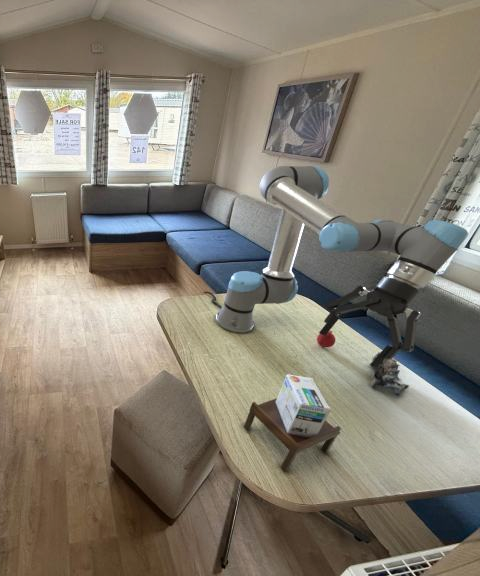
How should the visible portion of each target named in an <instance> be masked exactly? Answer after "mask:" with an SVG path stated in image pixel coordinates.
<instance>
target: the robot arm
mask: <svg viewBox="0 0 480 576" xmlns="http://www.w3.org/2000/svg"><path fill="white" fill-rule="evenodd" d="M329 185H330V179H329V176H328V174H327V172H326V170H325V169H324V168H322V167H319V166H311V165H290V166H289V165H280V166H276V167H273V168H271V169H270V170H268V171H267V172H265V174H264V175H263V176H262V178H261V179H260V183H259V192H260V196H262V198H263V199H264V200H265V201H266V202H267V203H269V204H271V205H274V206H276V205H278V206H279V207H280V208H281V211H280V215H279V220H278V223H277V228H276V231H275V235H274V240H273V245H272V247H271V251H270V255H269V259H268V264H267V266H266V267H264V268H263V269H262V270H261V274H260V273H258V272H255V271H250V270H241V271H237V272H234V273H233V274H232V275H231V277H230V280H229V282H228V286H227V290H226V295H225V298H224V302H223V305H221V304H220V303H218V302H217V301H216V300H217V296H215V294H213V293H212V292H210V291H209V290H208V291H203V294H208V295H210V296H211V297H212V298H213V299H211V302H212V303H213V304H214V305H216V306H218V307H219V308H220V309H218V312H217V314H216V316H215V321H216V324H218V326H219V327H220V328H222V329H224V330H226V331H229V332H231V333H236V334H246V333H249V332H251V331H252V330H253V327H254V325H255V324H254V313H253V312H254V308H255V305H266V304H267V305H269V304H275V305H278V304H285V303H288V302H291V301H293V299H295V297H296V295H297V293H298V290H299V286H298V285H299V284H298V281H297V279H296V277H295V274H294V272H293V266H294V262H295V259H296V256H297V252H298V248H299V246H300V241H301V238H302V234H303V231H304V227H305V226H306V227H307V228H309V229H310V230H311V231H313V232H314V233H316V234H317V235H318V238H319V240H318V241H319V243H320V246H321V247H322V249H324V250H325V251H328V252H335V253H350V252H387V253H392V254H395V255H398V256H399V257H398V258H397V259H396V261H395V262H394V264H393V265H392V266H391V267H390V269H389V270H388V271H386V274H387V275H385V276H383V277H382V278H380V280H379V282H378V283H377V284H376V285H375V287H374V288H373V289H372V290H368V289H367V288H366V287H365V286H363V285H358V286H356V288H354V290H352V291H351V292H348V293H346V294H345V295H343V296H340V297H339V298H337V299H335V300H333V301H331V302H329V303H327V304H326V305H325V307H326V308H327V309H328V310H329V313H328V315H327V316H326V317H325V318H324V319H323V322H324V323H325V324H324V326H323V327H322V328H321V329H320V330H319V332H318V334H321V335H325V336H326V334H327V333H328V332H329V331H330V330H331V329H332V328H333V327H334V326H335V324H336V323H337V322H338V321H339V320H340V319H341V316H339V315H342V314H346V313H352V312H354V311H359V310H362V309H368V310H370V311H371V312H374V313H376V314H378V315H379V316H382V317H384V318H386V320H387V323H388V328H389V333H390V339H391V343H392V345H391V344H386V346H385V347H384V348H383V349H382V350H381V352H380V354H379V355H378V356H377V357H376V358H375V359H374V360H373V359H372V360H373V362H372V361H371V363H370V364H369V366H370V367H371V366H372V367H376V368H377V367H378V366H379V364H380V363H381V362H382V361H383V360H384V359H385V358H386V359H389V360H390V359H392V358H393V359H394V358H395V356H396V355H397V354H398V352H399V351H404V352H409V353H411V352H413V351H414V348H415V340H416V332H417V325H418V322H419V320H420V318H421V317H422V313H421V312H420V311H418V310H413V309H411V308H409V305H410V304H411V302H413V300H414V299H415V298H416V297H417V296H418V295H419V294H420V289H424V288H425V287H426V286H427V284H428V283H429V282H430V281H431V280H432V278H433V277H434V276H435V275H436V274H437V273H438V272H439V270H440V269H441V268H442V266H443V265H445V263H447V261H448V260H449V259H450V258H451V257H452V256H453V255H454V254H455V253H456V252H457V251H458V250H459V248H460V246H461V245H463V243H464V242H465V240H466V239H467V238H468V235H469V231H468V230H467V229H466V228H465V227H462V226H460V225H458V224H455V223H452V222H448V221H444V220H441V219H440V220H439V219H433V220H432V219H431V220H430V221H428V222H427V223H426V224H425V225H423V227H422V226H421V227H420V226H415V225H414V226H413V225H409V224H404V223H399V222H395V221H393V220H384V219H375V220H372V221H370V222H358V221H356V220H354V219H352V218H349V217H348V216H346V215H345V214H343V213H342V212H340V211H338V210H337V209H335V208H333V207H331V205H329V204H327V203H325V202H324V201H323V200H321V199H322V198H323V197H324V196H325V195H326V194H327V193H328V190H329ZM360 296H361V297H363V296H366V299H365V300H362V301H359V302H356V303H352V304H347V303H349V302H351V301H353V300H355V299H357V298H359V297H360ZM345 304H347V305H345ZM404 313H405V317H406V318H407V319H406V323H405V332H404V340H403V342H402V336H401V331H400V326H399V318H398V315H400V314H401V315H402V314H404ZM372 367H371V368H372Z"/></svg>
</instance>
